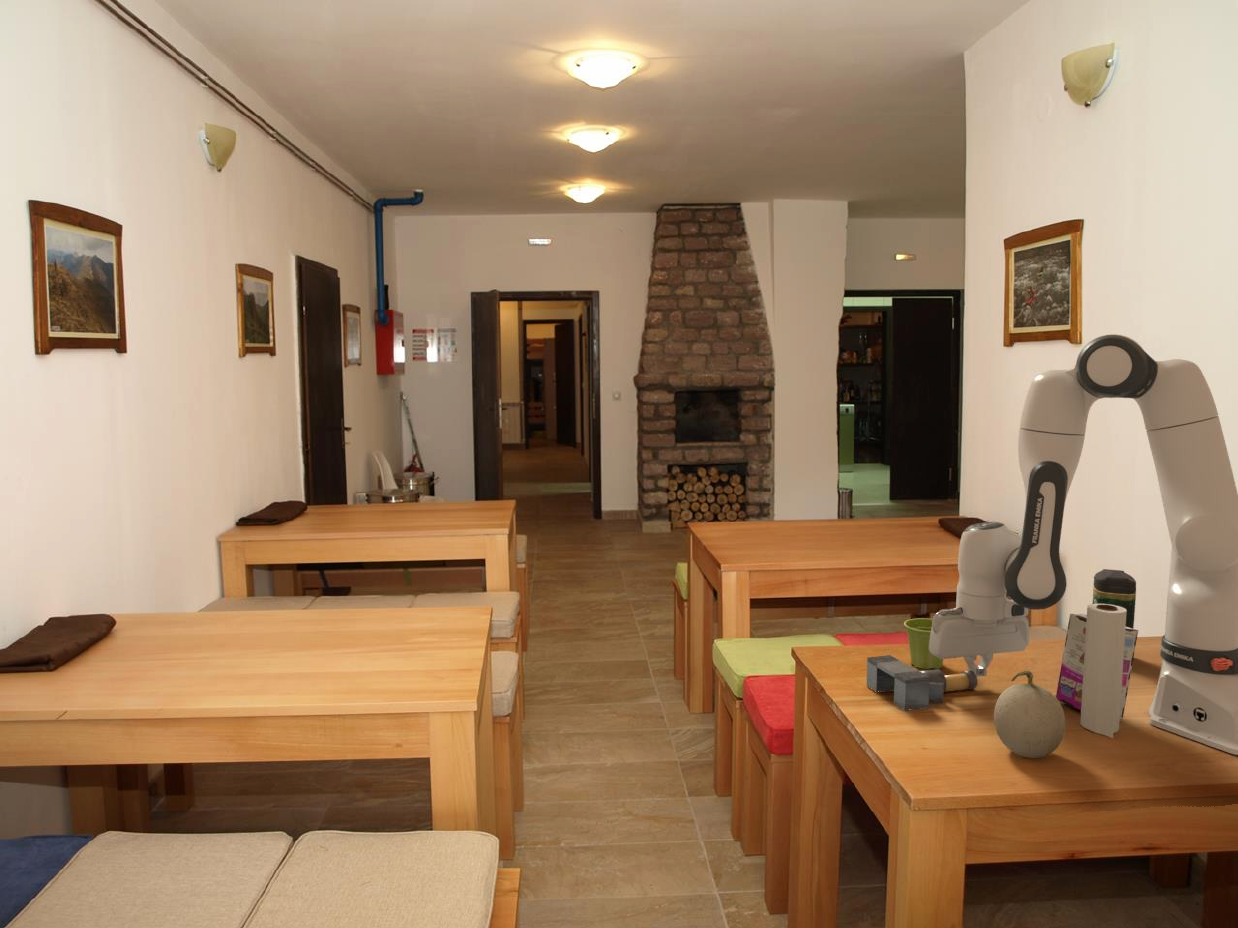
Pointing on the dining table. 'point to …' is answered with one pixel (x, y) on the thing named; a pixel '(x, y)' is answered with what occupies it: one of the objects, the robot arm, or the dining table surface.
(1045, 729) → the fruit
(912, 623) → the plant pot
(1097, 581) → the coffee jar
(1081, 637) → the candy bar box
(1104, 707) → the paper towel roll
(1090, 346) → the robot arm
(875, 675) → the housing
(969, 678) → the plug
